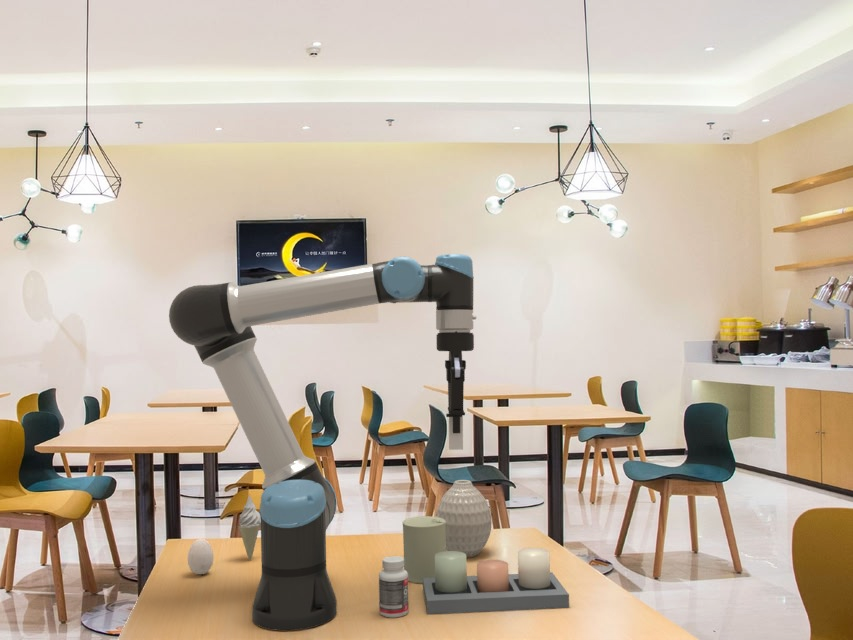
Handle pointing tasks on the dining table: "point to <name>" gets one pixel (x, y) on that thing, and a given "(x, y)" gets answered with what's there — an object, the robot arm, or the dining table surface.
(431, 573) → the can
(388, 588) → the pill bottle
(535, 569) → the cream cylinder
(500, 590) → the pink cylinder
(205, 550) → the egg
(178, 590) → the dining table surface
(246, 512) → the ice cream cone
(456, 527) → the vase
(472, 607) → the board
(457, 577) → the pale green round piece
